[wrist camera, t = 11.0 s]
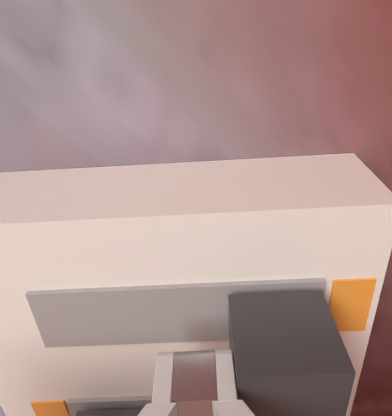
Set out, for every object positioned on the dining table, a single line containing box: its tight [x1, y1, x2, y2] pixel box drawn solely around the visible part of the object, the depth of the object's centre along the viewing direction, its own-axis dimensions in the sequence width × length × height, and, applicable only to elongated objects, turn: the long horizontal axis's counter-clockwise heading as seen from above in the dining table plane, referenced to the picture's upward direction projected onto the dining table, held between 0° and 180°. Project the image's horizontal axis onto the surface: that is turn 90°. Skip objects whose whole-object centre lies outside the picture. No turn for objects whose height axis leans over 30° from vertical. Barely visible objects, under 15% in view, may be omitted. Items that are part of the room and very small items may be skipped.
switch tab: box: [228, 291, 356, 416], centre depth 11 cm, size 3×2×3 cm
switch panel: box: [0, 153, 392, 416], centre depth 18 cm, size 15×20×4 cm
